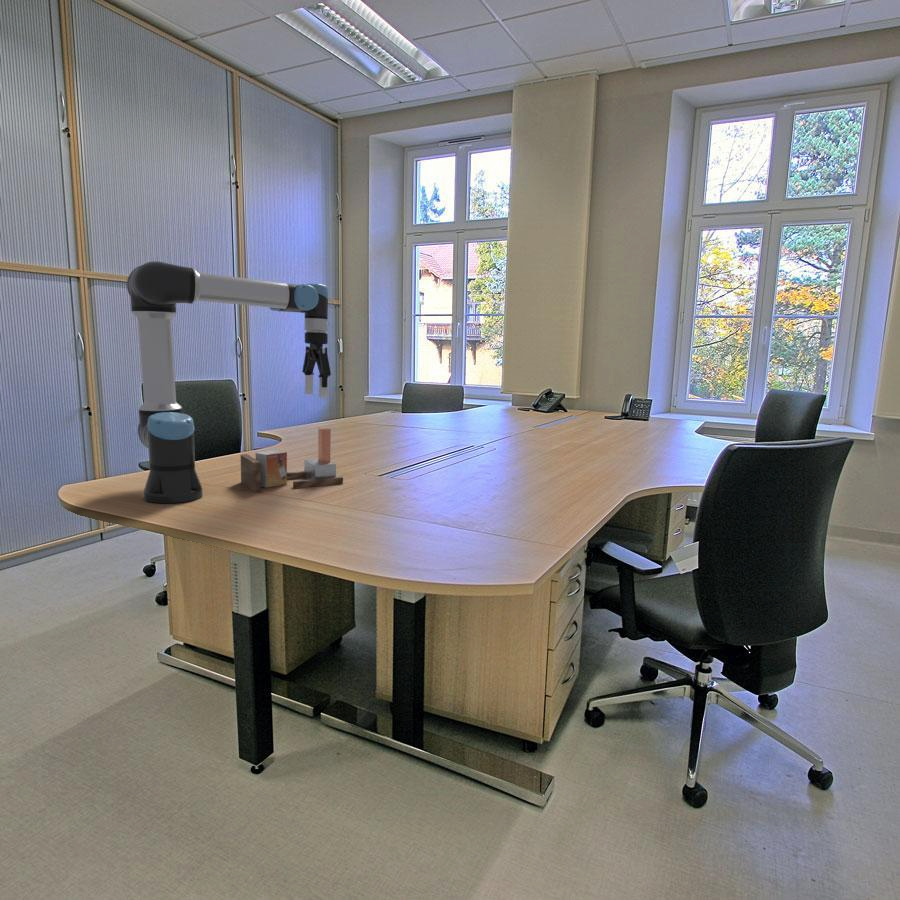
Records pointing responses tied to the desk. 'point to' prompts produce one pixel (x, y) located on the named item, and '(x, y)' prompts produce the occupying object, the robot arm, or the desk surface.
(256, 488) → the frame
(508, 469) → the desk surface
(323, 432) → the mallet
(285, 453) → the small box
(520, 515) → the desk surface
